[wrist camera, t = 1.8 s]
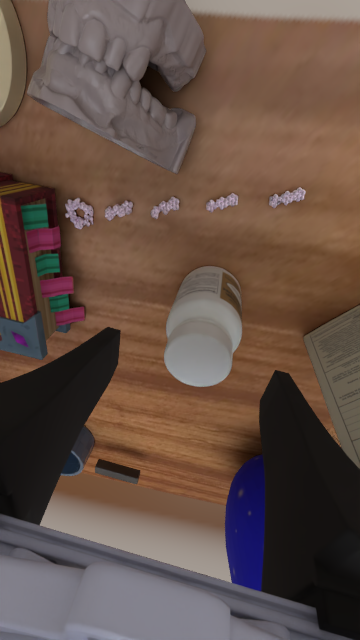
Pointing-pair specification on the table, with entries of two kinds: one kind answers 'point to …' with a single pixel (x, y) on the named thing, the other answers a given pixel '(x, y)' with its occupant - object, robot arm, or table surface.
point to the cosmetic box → (340, 375)
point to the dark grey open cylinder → (79, 453)
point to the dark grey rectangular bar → (117, 471)
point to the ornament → (246, 524)
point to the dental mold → (121, 71)
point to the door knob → (11, 62)
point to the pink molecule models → (167, 206)
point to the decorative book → (31, 270)
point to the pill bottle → (204, 327)
